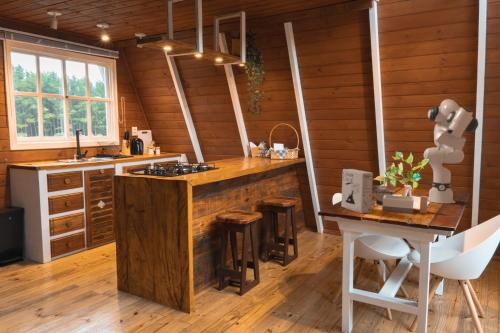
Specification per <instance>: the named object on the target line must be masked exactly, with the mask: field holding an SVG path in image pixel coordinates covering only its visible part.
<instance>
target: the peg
mask: <svg viewBox="0 0 500 333" xmlns="http://www.w3.org/2000/svg"><path fill="white" fill-rule="evenodd" d="M428 198H429V195H428V196H426V195H420V201H419V202H420V203H419V213H421V214H427V211H428V201H427V200H428Z"/></svg>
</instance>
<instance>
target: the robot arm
mask: <svg viewBox="0 0 500 333" xmlns="http://www.w3.org/2000/svg"><path fill="white" fill-rule="evenodd" d="M473 114H474V111H473V110H471V109H470V108H468V107H463V106H461V107H460V106H459V104H457V102H456V101H455V100H453V99H450V98H449V99H448V98H447V99H444V100H443V101H441V103H440V105H439V106H438V105H435V106H433V107H431V108H430V109H429V110H428V112H427V117H428V120H429V121H430V122H436V124H435V125H434V130H433V141H434V145H435V146H436V147H428V148H426V149H425V150H424V152H423V158H424V160H425V159H429V161H428V162H427V163H428V164H429V165H430V167H431V169H432V173H433V176H432V178H433V181H432V184H431V185H432V187H431V188H430V189H429V191H428V200H427V202H431V203H435V204H456V201H455V200H453V199H454V198H453V197H454V194H453V189H451V188H452V183H451V180H452V179H451V178H452V177H451V176H452V173H451V171H450V169H448V168H447V167H445V166H443V164H459V163H462V161H463V160H464V158H465V153H464V151H463V148H464V146H465V144H466V141H467V138H466V136H465V135H464V136H463V134H464V132H465V133H467V134H468V133H469V134H470V133H473V132H475V131H476V130H477V129H478V127H479V120H478V119H477V118H476V117H473Z"/></svg>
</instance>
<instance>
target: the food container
mask: <svg viewBox="0 0 500 333" xmlns="http://www.w3.org/2000/svg"><path fill="white" fill-rule="evenodd" d="M374 194H375V201H376V202H375V203H376V204H375V205H376V206H377V205H378V206H383V197H384V195H395V194H394V191H393V190H391V189H382V188H381V189H375V191H374Z"/></svg>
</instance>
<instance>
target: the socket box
mask: <svg viewBox="0 0 500 333" xmlns="http://www.w3.org/2000/svg"><path fill="white" fill-rule="evenodd" d="M381 206H382V212H395V213H404V214H405V213H406V214H407V213H408V214H413V213H414V196H407V195H406V196H405V195H395V194H393V195H384V197H383V205H381Z"/></svg>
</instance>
